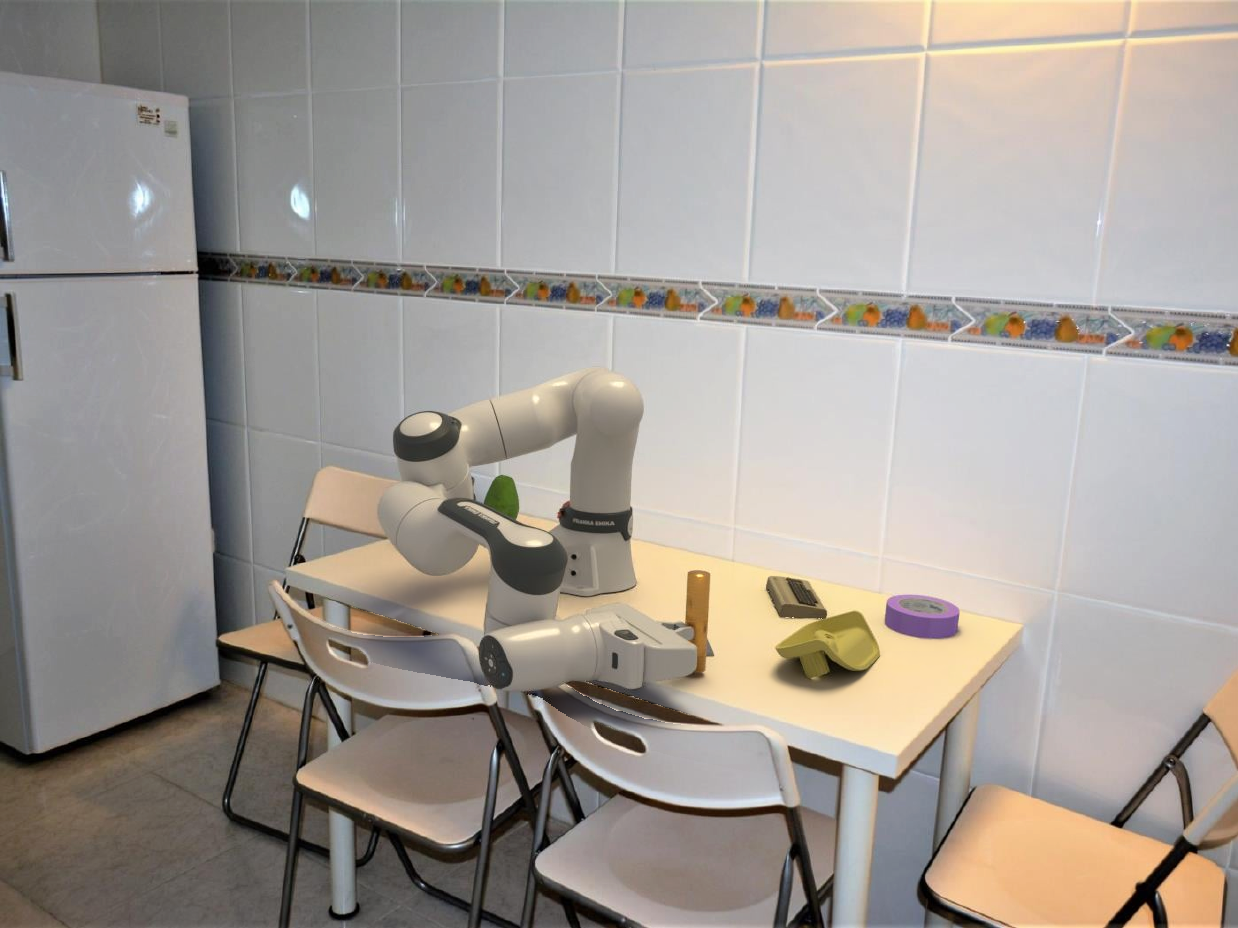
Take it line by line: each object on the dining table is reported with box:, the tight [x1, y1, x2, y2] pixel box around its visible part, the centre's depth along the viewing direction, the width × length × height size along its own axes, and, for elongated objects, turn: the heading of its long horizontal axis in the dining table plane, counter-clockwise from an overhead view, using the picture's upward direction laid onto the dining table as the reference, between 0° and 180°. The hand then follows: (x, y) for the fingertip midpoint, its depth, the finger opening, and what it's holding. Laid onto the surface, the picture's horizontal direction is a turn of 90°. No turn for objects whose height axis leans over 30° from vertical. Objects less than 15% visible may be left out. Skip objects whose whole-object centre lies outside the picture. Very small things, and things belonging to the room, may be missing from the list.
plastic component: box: [774, 610, 881, 679], centre depth 151 cm, size 20×7×10 cm
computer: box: [765, 575, 828, 620], centre depth 179 cm, size 16×8×3 cm, turn 0°
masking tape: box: [884, 594, 961, 640], centre depth 169 cm, size 12×12×4 cm
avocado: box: [483, 474, 520, 520], centre depth 222 cm, size 8×8×12 cm
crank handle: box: [684, 569, 711, 674], centre depth 150 cm, size 15×4×14 cm, turn 4°
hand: (688, 629), depth 143 cm, fingers closed
